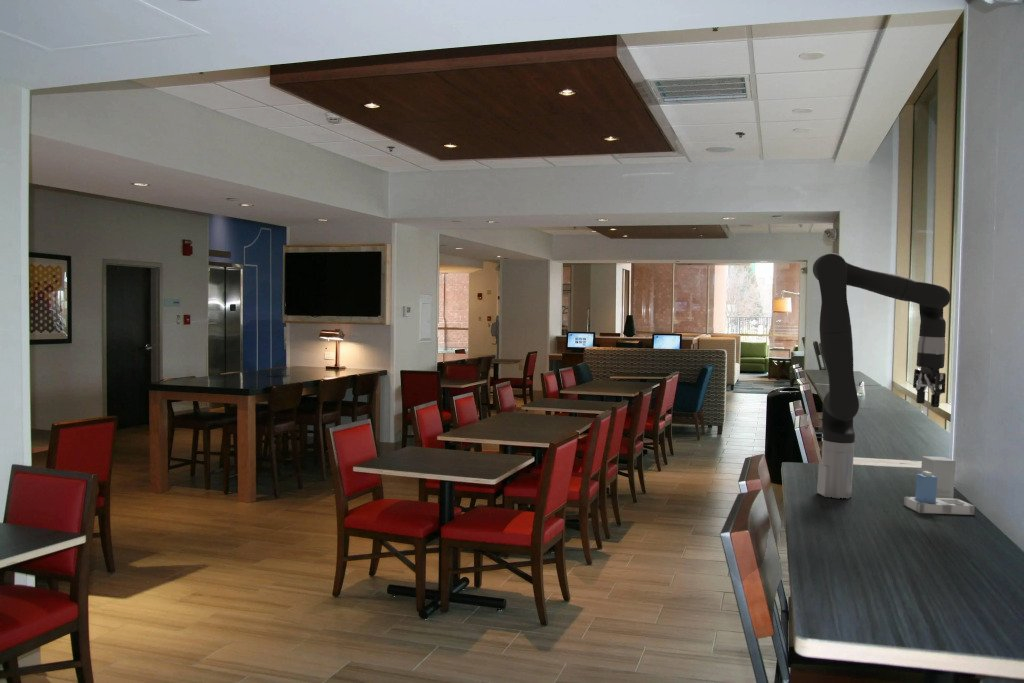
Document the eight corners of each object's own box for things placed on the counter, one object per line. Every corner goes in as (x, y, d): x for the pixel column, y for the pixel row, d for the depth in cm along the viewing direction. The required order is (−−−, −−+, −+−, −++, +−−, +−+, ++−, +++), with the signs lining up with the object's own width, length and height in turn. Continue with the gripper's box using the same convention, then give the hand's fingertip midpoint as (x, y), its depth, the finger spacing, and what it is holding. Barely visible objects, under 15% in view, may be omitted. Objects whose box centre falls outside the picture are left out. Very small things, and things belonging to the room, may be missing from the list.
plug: (921, 510, 245) (923, 473, 244) (914, 507, 249) (917, 470, 248) (935, 511, 245) (937, 473, 244) (927, 507, 249) (930, 470, 248)
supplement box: (953, 501, 261) (956, 461, 260) (929, 500, 261) (932, 459, 261) (942, 495, 269) (944, 456, 268) (918, 494, 269) (921, 455, 268)
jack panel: (919, 514, 242) (919, 503, 242) (903, 506, 251) (904, 496, 251) (973, 516, 242) (974, 505, 242) (956, 508, 251) (957, 497, 251)
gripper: (907, 349, 261) (903, 401, 262) (931, 352, 247) (927, 407, 248) (931, 350, 261) (927, 402, 262) (956, 353, 247) (952, 408, 248)
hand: (927, 405), depth 255 cm, fingers open, 8 cm apart
